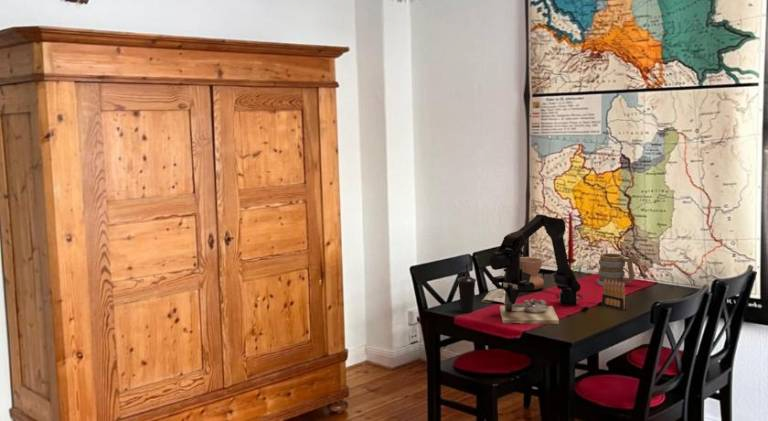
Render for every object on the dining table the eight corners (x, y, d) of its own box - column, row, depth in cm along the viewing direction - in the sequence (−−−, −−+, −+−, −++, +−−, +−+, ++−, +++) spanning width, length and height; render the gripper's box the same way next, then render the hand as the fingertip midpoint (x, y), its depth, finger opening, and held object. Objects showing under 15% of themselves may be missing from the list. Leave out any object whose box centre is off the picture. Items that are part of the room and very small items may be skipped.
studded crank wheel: (543, 307, 332) (543, 290, 331) (548, 312, 323) (548, 295, 322) (502, 308, 332) (503, 291, 331) (507, 313, 323) (507, 296, 322)
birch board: (552, 309, 335) (552, 305, 335) (558, 324, 313) (559, 319, 313) (499, 309, 337) (499, 305, 337) (502, 323, 315) (502, 319, 315)
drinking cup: (464, 314, 329) (464, 267, 327) (454, 310, 336) (454, 263, 333) (479, 312, 333) (479, 265, 330) (469, 308, 340) (469, 262, 337)
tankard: (592, 284, 380) (593, 253, 378) (606, 279, 389) (607, 249, 387) (630, 290, 366) (631, 258, 363) (644, 286, 374) (645, 255, 372)
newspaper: (491, 292, 369) (491, 287, 369) (516, 297, 365) (517, 291, 364) (477, 303, 349) (477, 298, 348) (504, 308, 344) (504, 303, 344)
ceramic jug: (529, 283, 383) (529, 254, 381) (552, 288, 372) (552, 259, 370) (502, 289, 373) (502, 259, 371) (525, 294, 361) (525, 264, 359)
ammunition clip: (625, 309, 333) (626, 281, 331) (623, 310, 332) (624, 282, 330) (604, 305, 341) (604, 277, 340) (601, 305, 340) (602, 278, 338)
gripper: (543, 266, 318) (543, 304, 320) (510, 260, 333) (510, 296, 335) (524, 271, 312) (524, 309, 314) (491, 264, 327) (491, 301, 329)
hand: (513, 303), depth 323 cm, fingers closed
